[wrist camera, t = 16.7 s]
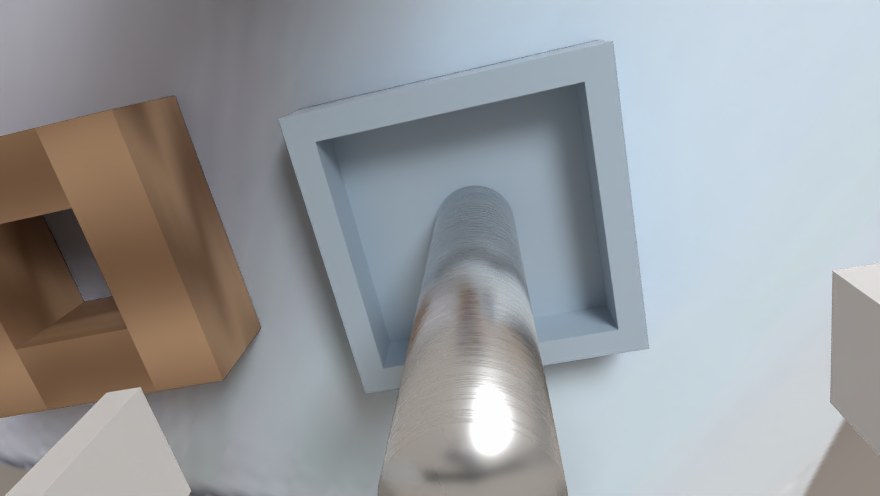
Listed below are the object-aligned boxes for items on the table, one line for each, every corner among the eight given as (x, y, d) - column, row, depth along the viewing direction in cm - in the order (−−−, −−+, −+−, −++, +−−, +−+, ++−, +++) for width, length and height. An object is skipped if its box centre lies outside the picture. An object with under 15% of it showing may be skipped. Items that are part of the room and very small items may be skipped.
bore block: (-55, 151, 23) (-159, 175, 19) (174, 95, 22) (111, 109, 18) (56, 364, 26) (-13, 420, 23) (261, 327, 25) (223, 380, 21)
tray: (299, 109, 22) (278, 119, 19) (597, 40, 20) (613, 41, 18) (375, 360, 25) (365, 394, 23) (632, 317, 24) (649, 348, 21)
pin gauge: (428, 194, 22) (355, 439, 9) (506, 178, 21) (551, 410, 8) (445, 265, 23) (403, 581, 10) (520, 251, 22) (580, 560, 9)
